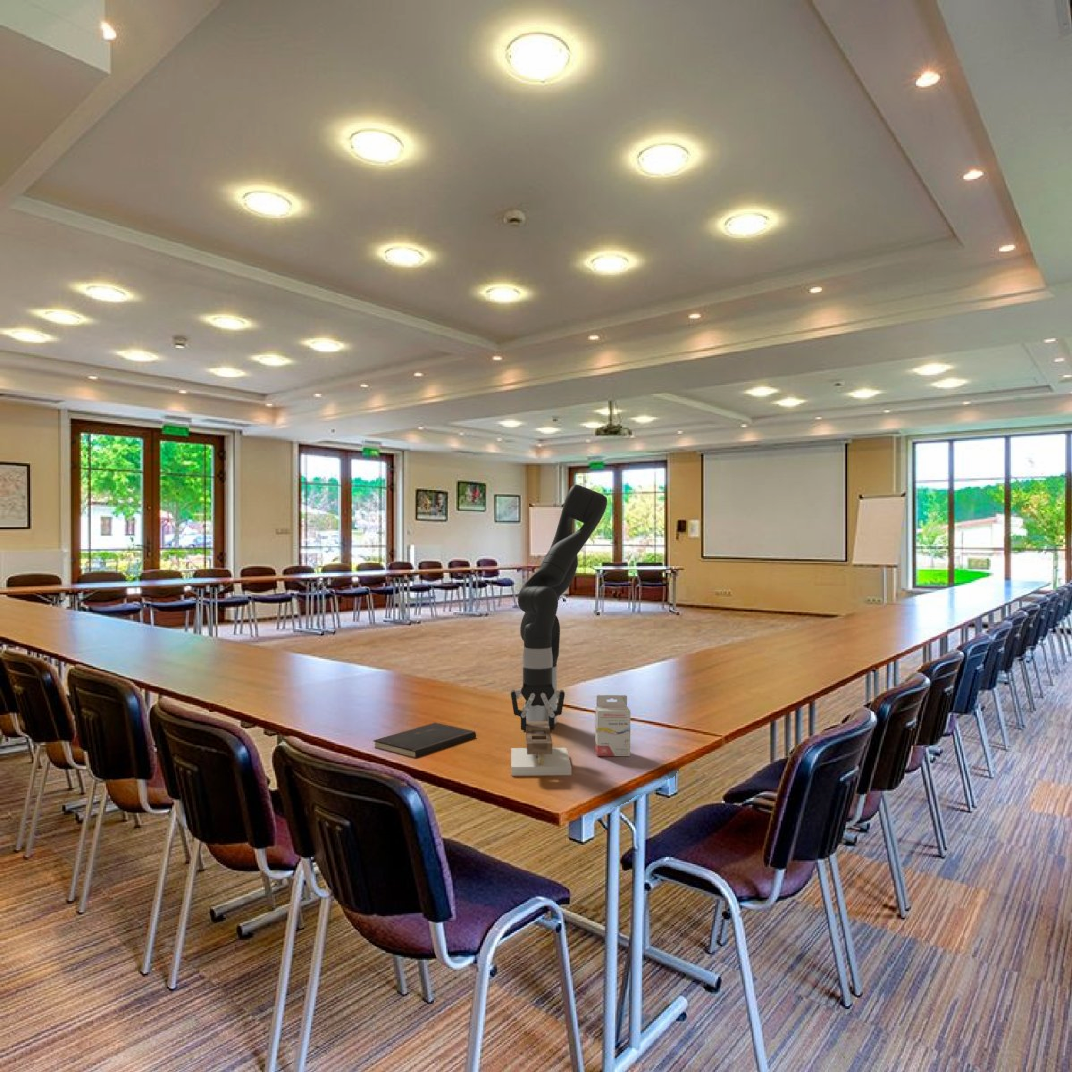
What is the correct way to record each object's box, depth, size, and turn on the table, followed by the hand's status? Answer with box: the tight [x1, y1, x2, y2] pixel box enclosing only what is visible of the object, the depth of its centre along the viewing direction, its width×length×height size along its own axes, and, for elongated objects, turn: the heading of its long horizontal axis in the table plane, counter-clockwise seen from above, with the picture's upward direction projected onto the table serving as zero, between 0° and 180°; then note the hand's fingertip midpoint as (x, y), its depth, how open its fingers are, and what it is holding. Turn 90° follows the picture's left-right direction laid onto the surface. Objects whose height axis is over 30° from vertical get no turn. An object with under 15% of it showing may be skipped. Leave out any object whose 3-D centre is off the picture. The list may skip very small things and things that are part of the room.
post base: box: [510, 731, 572, 777], centre depth 169 cm, size 15×14×8 cm
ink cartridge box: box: [594, 694, 631, 757], centre depth 178 cm, size 9×5×15 cm, turn 92°
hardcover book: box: [373, 722, 477, 759], centre depth 188 cm, size 16×23×2 cm
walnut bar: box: [525, 721, 553, 754], centre depth 169 cm, size 20×6×2 cm, turn 2°
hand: (537, 731), depth 175 cm, fingers closed on walnut bar, 5 cm apart
